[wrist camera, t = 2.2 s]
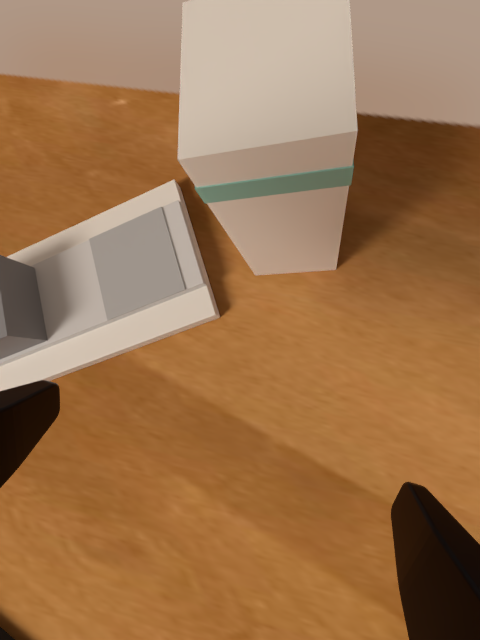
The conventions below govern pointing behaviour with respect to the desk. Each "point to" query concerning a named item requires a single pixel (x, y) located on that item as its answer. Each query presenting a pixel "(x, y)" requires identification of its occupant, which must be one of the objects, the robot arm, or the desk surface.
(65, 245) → the rail board
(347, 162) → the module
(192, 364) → the desk surface
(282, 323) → the desk surface
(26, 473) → the desk surface
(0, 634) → the smart home device
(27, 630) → the desk surface
